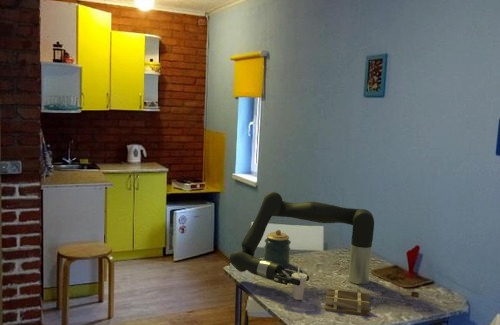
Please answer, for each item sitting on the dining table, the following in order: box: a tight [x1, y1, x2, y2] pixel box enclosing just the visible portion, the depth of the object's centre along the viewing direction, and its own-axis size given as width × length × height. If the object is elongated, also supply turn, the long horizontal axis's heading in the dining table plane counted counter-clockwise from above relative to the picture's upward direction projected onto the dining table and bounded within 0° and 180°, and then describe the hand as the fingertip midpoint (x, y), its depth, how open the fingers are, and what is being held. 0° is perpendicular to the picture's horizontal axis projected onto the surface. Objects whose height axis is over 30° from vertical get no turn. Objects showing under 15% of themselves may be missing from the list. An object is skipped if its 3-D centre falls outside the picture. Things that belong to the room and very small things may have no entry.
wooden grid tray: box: [324, 285, 371, 317], centre depth 195 cm, size 17×17×4 cm
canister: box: [263, 229, 291, 269], centre depth 239 cm, size 13×13×18 cm
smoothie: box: [292, 264, 307, 301], centre depth 196 cm, size 6×6×14 cm
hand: (304, 280), depth 195 cm, fingers closed on smoothie, 6 cm apart
